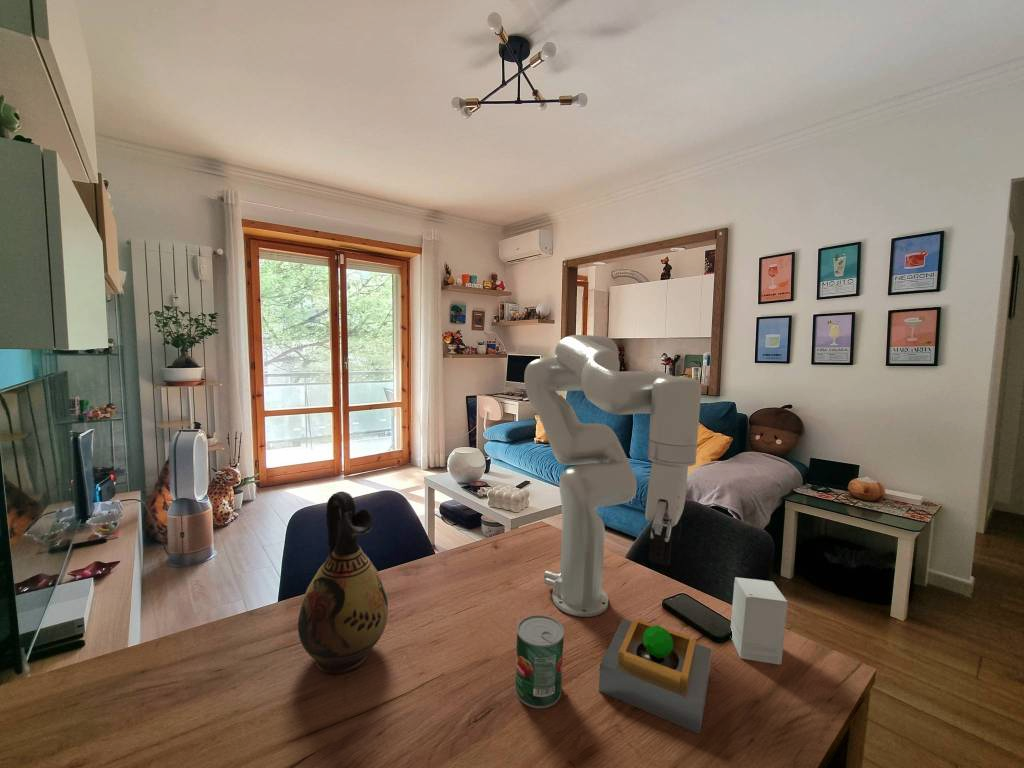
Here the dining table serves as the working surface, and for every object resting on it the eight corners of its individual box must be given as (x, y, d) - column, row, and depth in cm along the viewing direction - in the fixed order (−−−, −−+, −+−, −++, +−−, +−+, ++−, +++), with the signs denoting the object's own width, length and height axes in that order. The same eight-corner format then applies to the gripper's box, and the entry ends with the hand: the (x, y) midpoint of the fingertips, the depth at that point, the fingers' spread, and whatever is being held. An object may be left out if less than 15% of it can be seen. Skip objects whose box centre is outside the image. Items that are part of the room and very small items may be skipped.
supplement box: (782, 666, 82) (789, 602, 81) (739, 659, 84) (745, 596, 82) (768, 639, 90) (774, 580, 88) (728, 633, 91) (733, 575, 90)
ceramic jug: (404, 654, 82) (405, 499, 79) (322, 703, 71) (318, 524, 68) (359, 613, 94) (358, 476, 91) (282, 650, 83) (277, 495, 79)
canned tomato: (505, 685, 76) (507, 625, 75) (540, 665, 81) (542, 608, 80) (535, 717, 70) (537, 652, 69) (571, 694, 74) (574, 633, 73)
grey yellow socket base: (598, 691, 75) (600, 652, 74) (625, 634, 90) (627, 601, 89) (700, 734, 68) (703, 692, 67) (711, 664, 82) (713, 629, 82)
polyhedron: (646, 640, 80) (647, 616, 80) (674, 651, 78) (676, 625, 77) (638, 657, 76) (640, 631, 76) (668, 669, 74) (670, 642, 73)
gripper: (659, 438, 82) (652, 526, 84) (636, 459, 67) (629, 566, 69) (702, 444, 79) (695, 536, 81) (688, 468, 64) (679, 580, 66)
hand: (664, 550), depth 75 cm, fingers open, 9 cm apart
